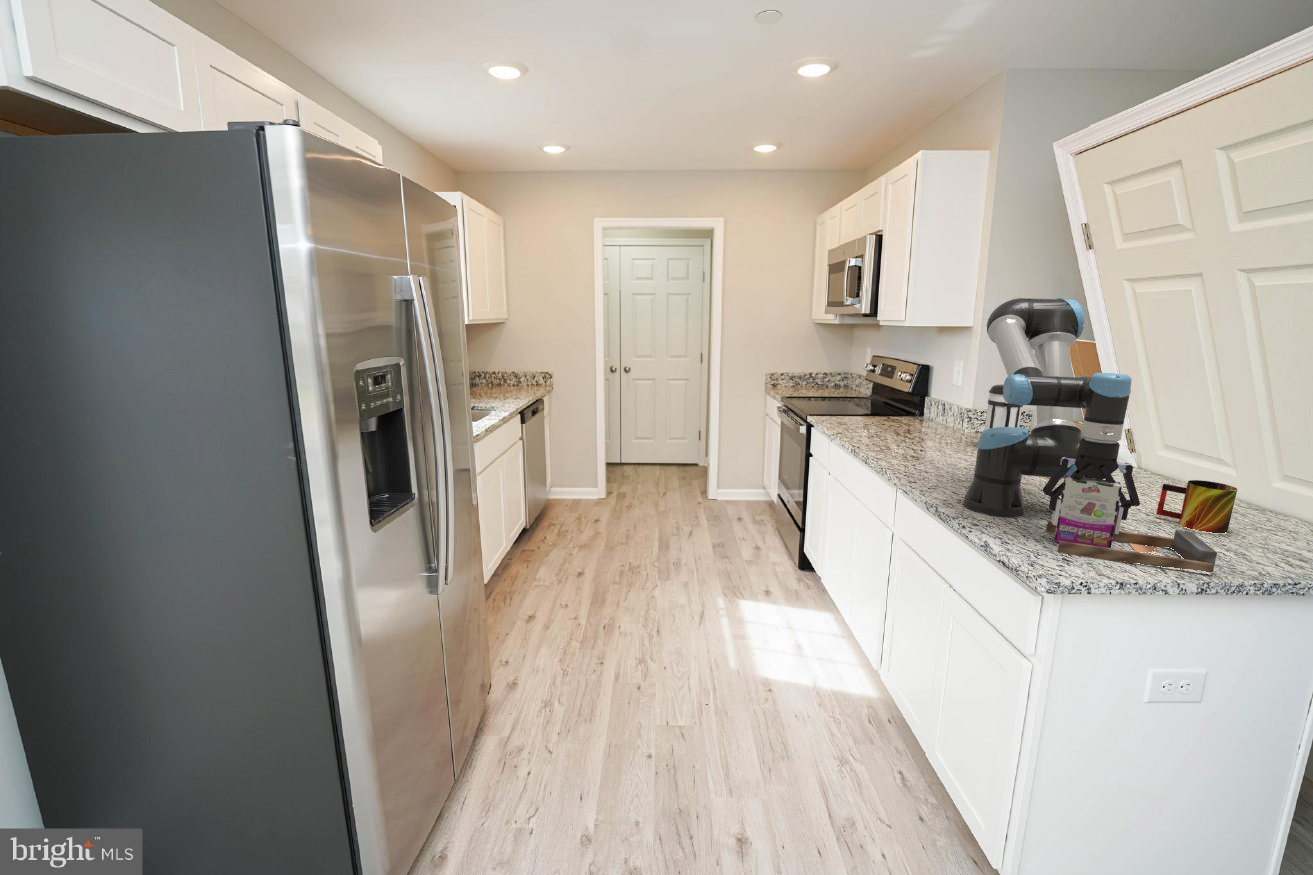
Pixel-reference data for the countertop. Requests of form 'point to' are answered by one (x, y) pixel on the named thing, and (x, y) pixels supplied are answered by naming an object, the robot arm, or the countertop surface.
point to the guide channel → (1149, 550)
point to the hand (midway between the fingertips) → (1083, 527)
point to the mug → (1202, 505)
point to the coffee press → (1001, 410)
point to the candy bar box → (1088, 511)
